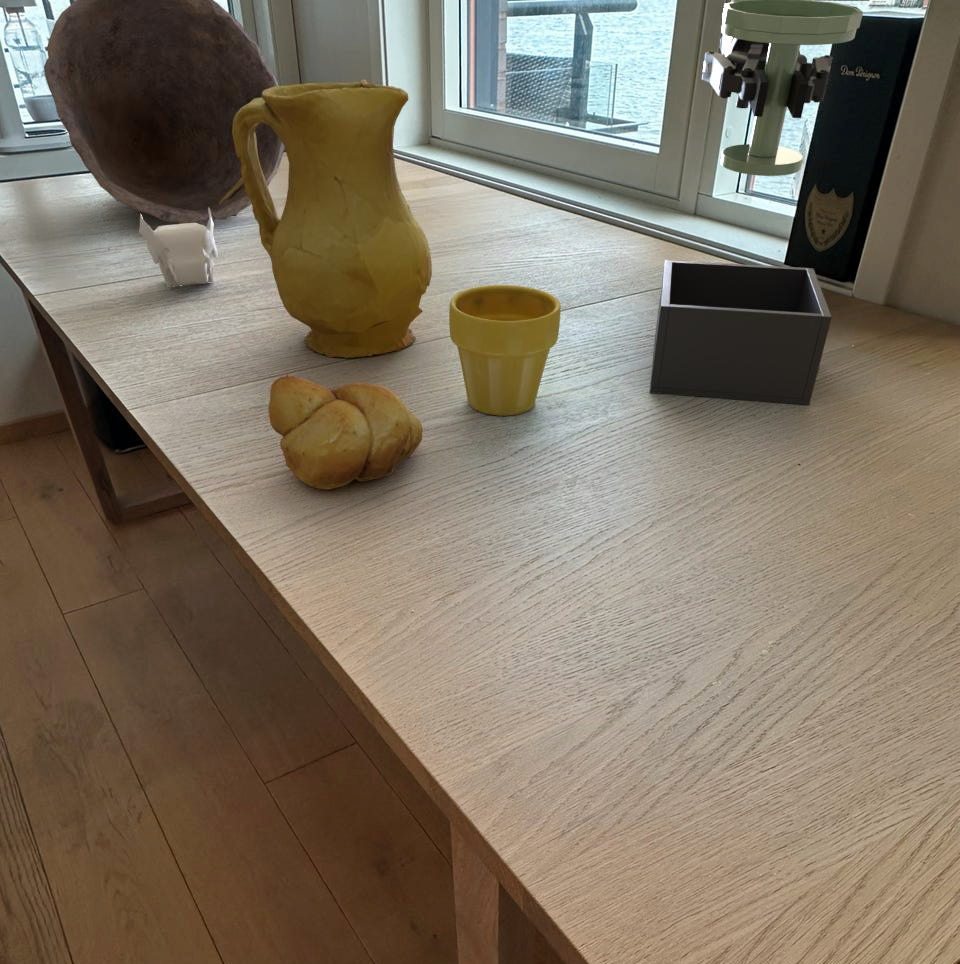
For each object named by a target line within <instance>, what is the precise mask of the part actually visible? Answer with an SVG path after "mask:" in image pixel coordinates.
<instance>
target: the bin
mask: <svg viewBox="0 0 960 964" xmlns="http://www.w3.org/2000/svg"><path fill="white" fill-rule="evenodd" d="M658 303H659V304H658V310H657V319H656V326H655V334H654V343H653V353H652V362H651V363H652V364H651V372H650V373H651V375H650V382H649V383H650V386H649V393H651V394H663V395H674V396H675V395H676V396H687V397H688V396H689V397H699V398H700V397H702V398H713V399H728V400H739V401H753V402H766V403H777V404H778V403H779V404H791V405H803V406H810V404H811V399H812V396H813V392H814V388H815V384H816V380H817V377H818V373H819V370H820V366H821V361H822V358H823V353H824V350H825V346H826V345H825V344H826V342H827V338H828V334H829V330H830V327H831V323H832V318H833V316H832V314H831V312H830V309H829V306H828V303H827V300H826V298H825V295H824V293H823V290H822V287H821V285H820V282H819V279H818V276H817V273H816V271H815V269H814V268H810V267H798V266H797V267H795V266H780V265H779V266H778V265H761V264H760V265H759V264H745V263H743V264H740V263H726V262H725V263H724V262H709V261H708V262H705V261H704V262H703V261H687V260H672V259H671V260H670V259H667V260H666V259H664V265H663V273H662V280H661V288H660V297H659V301H658Z"/></svg>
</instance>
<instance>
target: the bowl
mask: <svg viewBox="0 0 960 964" xmlns="http://www.w3.org/2000/svg"><path fill="white" fill-rule="evenodd" d="M50 33H51V34H50V36H49V39H48V43H47V45H46V51H47V59H46V61H45V63H44V65H43V70H44V76H45V81H46V83H47V86H48V89H49V92H50V94H51V96H52V98H53V102H54V105H55V110H56V114H57V116H58V118H59V121H60V123H61V124H62V125H63V126H64V128H65V130H66V131H67V133H68V137H69V141H70V145H71V146H72V148H73V149H74V151H75V152H76V153H77V154H78V156H79V157H80V159H81V161H82V162H83V164H84V166H85V168H86V169H87V170H88V171H89V173H90V174H91V176H92V177H93V178H94V179H95V181H96V182H97V184H98V185H99V187H100V188H102V189H103V190H104V191H105V192H106V193H108V194H109V195H110V196H111V197H112V198H113V199H114V200H116V202H118V203H121V204H124V205H127V206H130V207H131V208H133V209H134V210H136V211H138V212H141V213H144V214H147V215H149V216H152V217H154V218H157V219H159V220H161V221H163V222H170V223H177V224H185V223H198V224H199V223H204V224H206V223H208V221H209V218H210V217H209V212H208V207H209V208H210V211H211V217H212V220H213V221H215V220H227V219H229V218H232V217H231V216H235V217H237V215H238V214H239V213H241V212H242V211H244V210H245V209H247V208H248V207H251V206H252V203H251V198H250V197H248V195H247V194H246V190H245V185H244V181H243V178H242V174H241V169H240V168H241V166H242V164H241V161H240V159H239V158H237V154H236V149H235V145H234V140H233V135H232V128H233V119H234V117H235V115H236V113H237V112H238V111H239V110H240V109H241V108H242V107H244V106H245V105H247V104H249V103H250V102H251V101H252V100H253V99H256V98H262V92H263V91H264V90H265V89H269V88H272V87H275V86H280V84H279V83H278V81H277V80H276V78H275V75H274V72H273V70H272V68H271V66H270V64H269V63H268V62H267V60H266V59H265V57H264V54H263V52H262V50H261V49H260V47H259V46H258V45H257V43H256V42H255V40H254V39H253V38H251V37H250V35H249V34H248V32H247V30H246V29H245V28H244V27H243V25H242V24H241V23H240V22H239V20H237V18H236V17H235V16H234V15H233V14H232V13H230V12H229V11H227V10H226V9H225V8H223V6H221V4H219V3H218V2H216V1H215V0H73V1H72V3H71V4H70V5H69V6H68V7H66V9H64V10H63V11H62V12H61V13H60V15H59V16H58V17H57V19H56V20H55V23H54V26H53V28H52V30H51V32H50ZM255 134H256V140H257V152H258V158H259V162H260V165H261V168H262V172H263V175H264V177H265V179H266V183H267V186H268V187H269V185H270V183H271V182H272V180H273V179H274V178H275V177H276V175H277V174H278V171H279V168H280V165H281V162H282V158H283V155H284V151H285V146H284V144H283V143H282V142H281V140H280V139H279V137H278V136H277V134H276V133H275V132H274V130H273V129H272V127H271V126H269V125H265V124H260V123H259V125H258V127H257V128H256V130H255Z"/></svg>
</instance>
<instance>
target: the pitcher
mask: <svg viewBox="0 0 960 964" xmlns="http://www.w3.org/2000/svg"><path fill="white" fill-rule="evenodd" d="M408 101H409V93H408V92H407V91H405V90H404V89H403V88H401V87H396V86H393V85H381V84H377V83H370V82H367V80H366V79H361V80H360V81H353V82H348V81H347V82H308V83H296V84H291V85H289V84H288V85H287V84H286V85H279V86H275V87H272V88H269V89H265V90H264V91H263V92H262V98H256V99H253V100H252V101H251V102H250V103H249V104H247V105H245V106H244V107H242V108H241V109H240V110H239V111H238V112H237V113H236V115H235V117H234V119H233V128H232V135H233V140H234V145H235V149H236V154H237V158H239V159H240V161H241V164H242V166H241V168H240V169H241V174H242V178H243V181H244V185H245V190H246V194H247V195H248V197H250V198H251V203H252V204H251V206H252V207H251V208H252V213H253V216H254V219H255V220H256V221H257V224H258V228H259V229H258V233H259V236H260V243H261V245H262V247H263V248H264V250H265V251H266V253H267V254H268V257H269V258H270V261H271V271H272V274H273V278H274V281H275V284H276V288H277V291H278V294H279V298H280V300H281V302H282V305H283V307H284V309H285V310H286V311H287V313H288V314H289V316H290V318H291V317H292V318H293V319H295V320H297V321H298V322H300V323H302V324H303V325H305V326H307V327H309V328H310V330H309V332H308V334H306V336H305V337H304V338H303V339H304V341H305V345H306V346H307V347H308V348H309V349H310V350H312V351H314V353H317V354H319V355H325V356H326V357H327V358H338V357H339V358H344V359H349V358H350V359H353V358H354V359H355V358H360V357H363V358H364V357H366V356H367V357H372V356H373V355H383V354H387V353H389V352H390V353H392V352H394V351H400V350H401V349H404V348H407V347H409V346H410V345H411V344H413V343H414V342H415V340H416V336H415V335H414V333H413V329H411V328H410V324H412V323H413V321H414V320H415V319H416V318H418V317H419V316H420V315H421V314H422V313H423V312H424V311H423V310H422V309H421V307H419V306H420V303H421V300H422V296H423V295H424V294H426V292H427V289H428V287H429V286H430V283H431V281H432V275H433V264H432V257H431V256H432V255H431V248H430V246H429V242H428V239H427V236H426V234H425V232H424V230H423V229H422V226H421V225H420V224H419V222H418V221H417V219H416V217H415V216H414V214H413V212H412V211H411V210H412V209H411V207H410V205H409V204H408V202H407V199H406V197H405V195H404V193H403V192H402V189H401V185H400V182H399V180H398V179H399V178H398V175H397V171H396V163H395V162H396V161H395V152H394V136H395V125H396V123H397V119H398V118H399V116H400V113H402V110H403V107H404V106H406V104H407V102H408ZM259 123H260V124H265V125H269V126H271V127H272V129H273V130H274V132H275V133H276V134H277V136H278V137H279V139H280V140H281V142H282V143H283V144H284V146H285V148H284V151H285V154H286V158H287V160H288V179H287V180H288V181H287V192H286V200H285V203H284V208H283V210H282V214H281V218H279V215H278V211H277V209H276V207H275V203H274V201H273V197H272V194H271V192H270V189H269V185H268V186H267V183H266V179H265V177H264V175H263V172H262V168H261V165H260V162H259V158H258V152H257V140H256V134H255V130H256V128H257V127H258V125H259Z"/></svg>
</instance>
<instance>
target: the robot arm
mask: <svg viewBox="0 0 960 964" xmlns="http://www.w3.org/2000/svg"><path fill="white" fill-rule="evenodd" d="M735 1H739V0H730V2H735ZM769 44H770V43H762V42H753V41H747V40H741V39H737V38H733V37H729V36H727V35H725V34H723V33H722V32H721V37H720V40H719V49H720V53H719V52H717V51H715V50H708V51H706V52H705V54H704V61H703V69H702V75H701V80H702V81H704V82H707V83H709V84H710V86H711V87H712V89H713V90H714V91H715V93H716V94H717V96H718V97H719V98H722V99H728V98H731V97H732V93H734V94H736V95H737V96H736V103H735V108H736V109H748V108H749V107H750V109H751V111H752V115H753V117H755V116H756V117H762V115H763V110H764V105H765V100H766V95H767V90H768V85H769V82H768V79H767V77H766V75H765V73H764V70H765V65H766V60H767V54H768V49H769ZM833 59H834V57H833V56H830V54H825V55H822V56H819V57H818V56H815V57H812V61H811V62H808V58H807V56H806V55H804V54H801V50H800V49H799V54H798V59H797V63H796V68H795V72H794V77H793V82H792V86H791V91H790V95H789V100H788V105H787V109H788V111H789V113H790V115H791V117H792V119H802V116H803V111H804V107H805V104H810V103H811V102H813V103H816V104H817V103H821V102H824V98H825V94H826V91H827V90H826V89H827V86H828V81H829V76H830V73H831V67H832V66H831V65H832V62H833ZM749 105H750V106H749Z"/></svg>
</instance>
